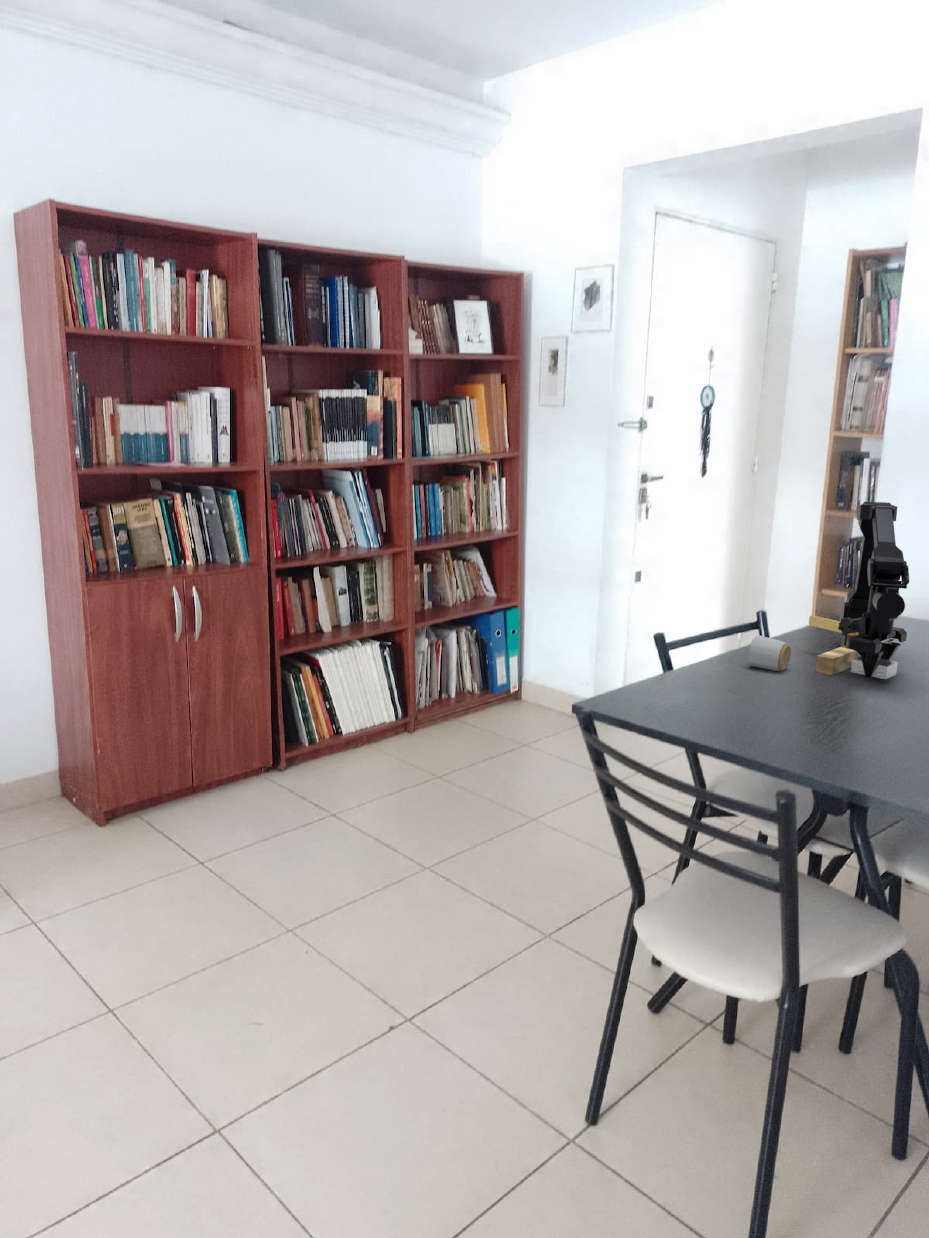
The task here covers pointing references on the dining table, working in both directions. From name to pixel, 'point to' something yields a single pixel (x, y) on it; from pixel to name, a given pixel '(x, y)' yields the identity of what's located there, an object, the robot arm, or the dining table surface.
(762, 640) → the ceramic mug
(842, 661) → the tan block
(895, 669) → the frosted white brick
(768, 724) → the dining table surface
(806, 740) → the dining table surface
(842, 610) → the robot arm
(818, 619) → the lever
